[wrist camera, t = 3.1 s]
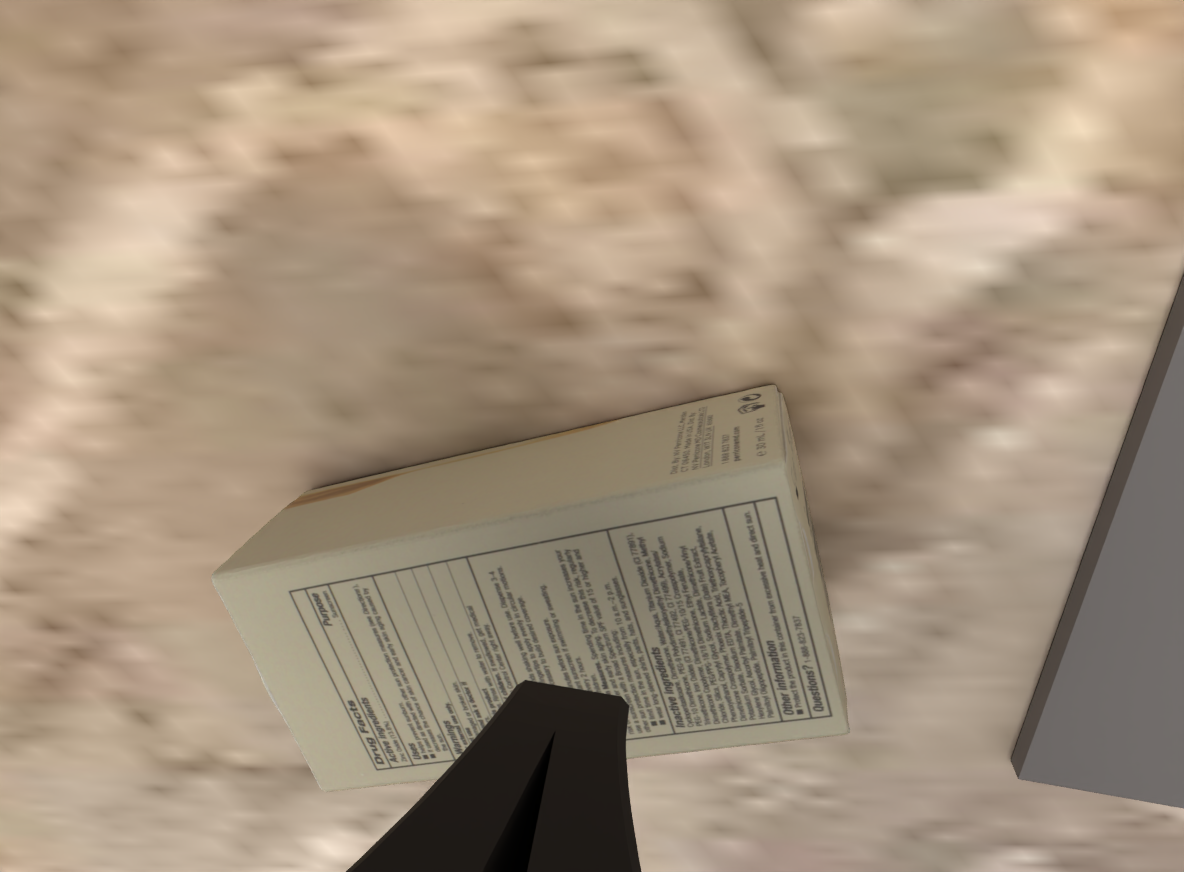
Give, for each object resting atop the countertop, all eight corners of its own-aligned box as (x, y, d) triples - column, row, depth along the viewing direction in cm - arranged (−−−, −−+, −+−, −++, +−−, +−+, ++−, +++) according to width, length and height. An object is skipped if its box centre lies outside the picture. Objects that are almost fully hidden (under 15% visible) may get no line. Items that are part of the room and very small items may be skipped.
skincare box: (784, 375, 17) (301, 474, 21) (795, 458, 13) (195, 564, 17) (835, 623, 20) (390, 677, 23) (857, 756, 16) (314, 799, 19)
